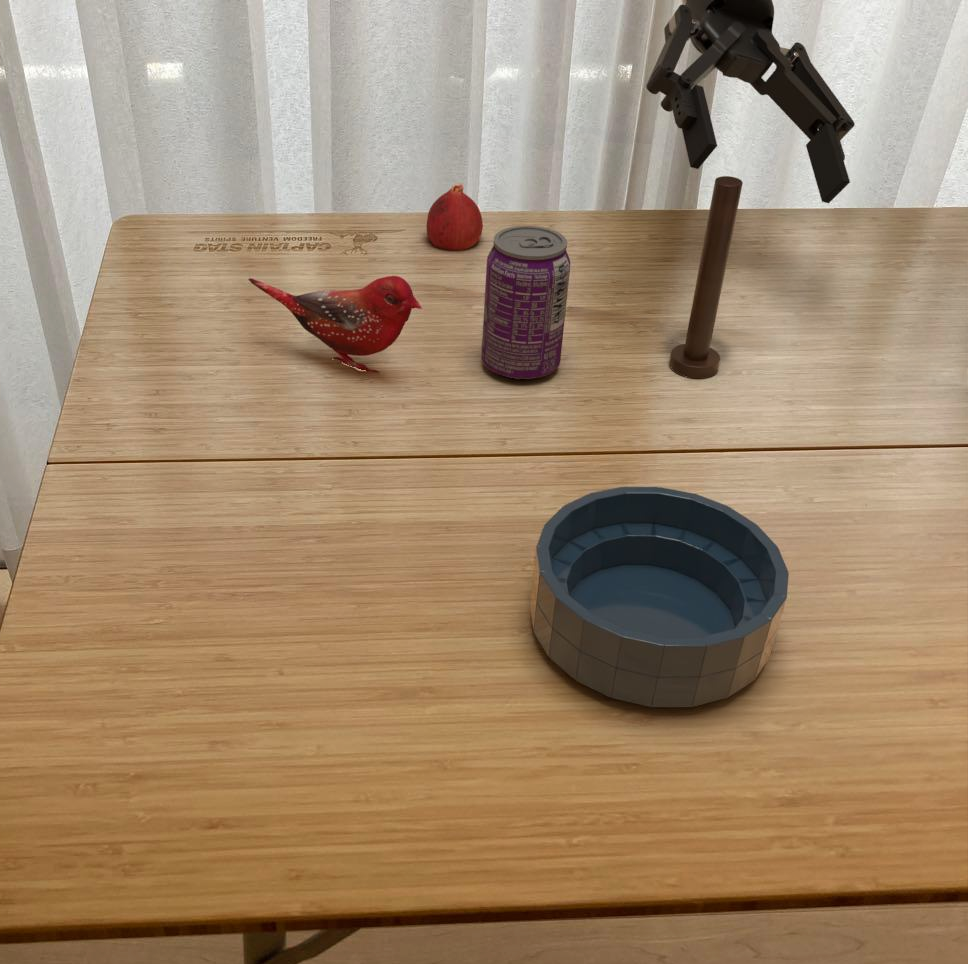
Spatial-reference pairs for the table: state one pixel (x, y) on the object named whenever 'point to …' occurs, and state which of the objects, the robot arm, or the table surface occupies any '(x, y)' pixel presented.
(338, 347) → the decorative bird figurine
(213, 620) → the table surface
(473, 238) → the red pomegranate
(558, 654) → the bowl
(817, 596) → the table surface
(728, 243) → the stirring stick
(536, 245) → the beverage can
